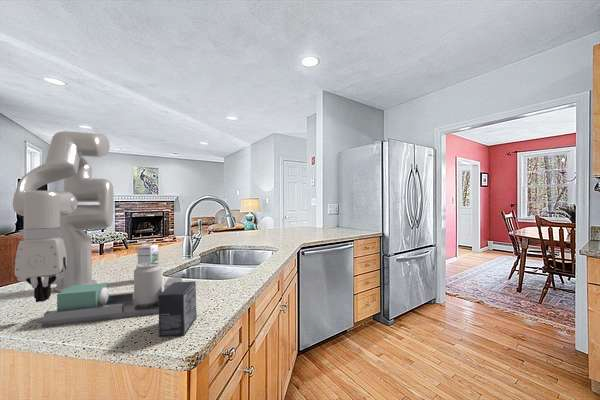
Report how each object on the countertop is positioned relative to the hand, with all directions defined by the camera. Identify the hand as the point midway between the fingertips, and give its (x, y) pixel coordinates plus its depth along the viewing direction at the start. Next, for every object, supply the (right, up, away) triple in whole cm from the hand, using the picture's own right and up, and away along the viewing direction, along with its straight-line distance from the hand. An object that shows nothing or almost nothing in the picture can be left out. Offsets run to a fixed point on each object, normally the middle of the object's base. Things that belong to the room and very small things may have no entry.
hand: (42, 300), depth 78 cm
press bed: (+18, -5, +6) cm, 20 cm away
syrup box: (+9, -6, +39) cm, 40 cm away
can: (+25, -4, +8) cm, 27 cm away
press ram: (+9, -3, +3) cm, 11 cm away
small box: (+40, -5, -5) cm, 41 cm away
